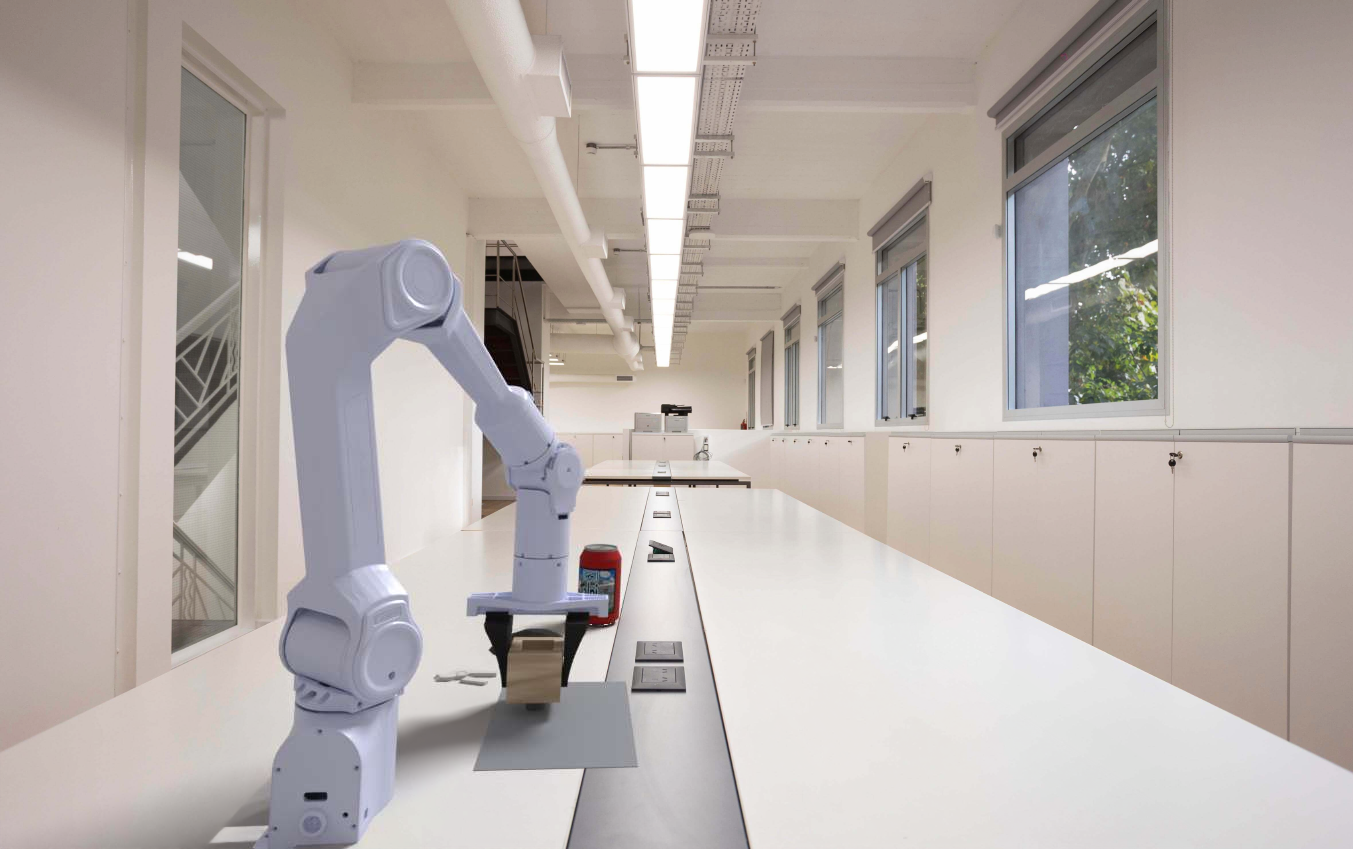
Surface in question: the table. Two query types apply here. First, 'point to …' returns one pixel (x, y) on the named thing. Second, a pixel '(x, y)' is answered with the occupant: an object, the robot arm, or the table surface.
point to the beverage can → (601, 578)
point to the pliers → (466, 676)
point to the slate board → (562, 731)
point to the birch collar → (535, 670)
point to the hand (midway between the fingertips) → (535, 683)
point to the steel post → (534, 706)
